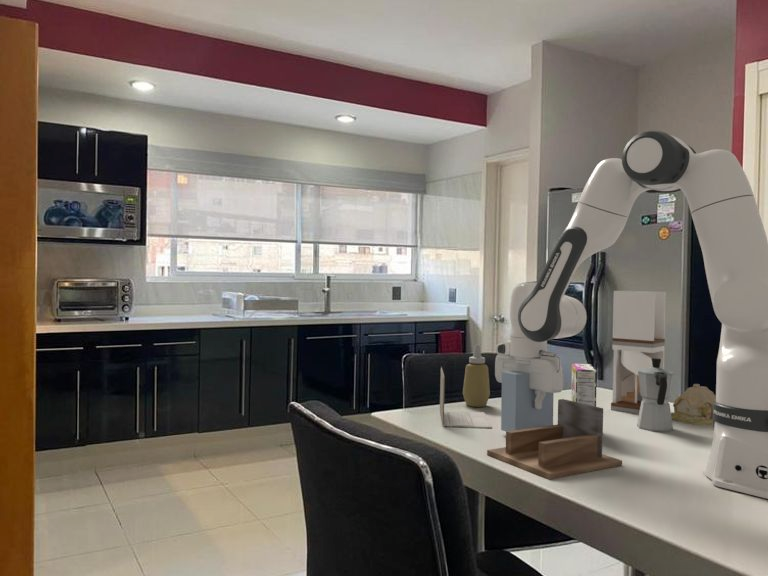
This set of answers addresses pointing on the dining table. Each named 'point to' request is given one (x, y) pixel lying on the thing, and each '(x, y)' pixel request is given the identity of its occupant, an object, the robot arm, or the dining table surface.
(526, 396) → the book
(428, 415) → the dining table surface
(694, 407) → the ceramic model
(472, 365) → the squeeze bottle
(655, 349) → the white coffee grinder
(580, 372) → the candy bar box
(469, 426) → the laptop
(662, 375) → the coffee maker
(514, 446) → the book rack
